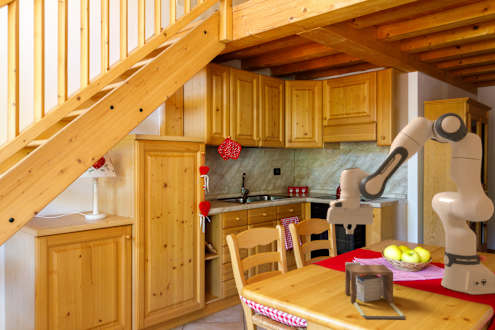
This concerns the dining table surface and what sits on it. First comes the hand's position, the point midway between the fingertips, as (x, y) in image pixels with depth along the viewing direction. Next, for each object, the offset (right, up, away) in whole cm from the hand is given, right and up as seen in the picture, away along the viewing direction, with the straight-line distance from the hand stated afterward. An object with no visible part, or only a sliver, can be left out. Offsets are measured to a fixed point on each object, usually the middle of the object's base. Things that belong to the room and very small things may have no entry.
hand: (349, 233), depth 172 cm
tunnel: (0, -20, -28) cm, 34 cm away
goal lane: (-1, -20, -39) cm, 44 cm away
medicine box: (0, -20, -29) cm, 35 cm away
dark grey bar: (-1, -20, -46) cm, 50 cm away
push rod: (0, -19, -13) cm, 23 cm away
